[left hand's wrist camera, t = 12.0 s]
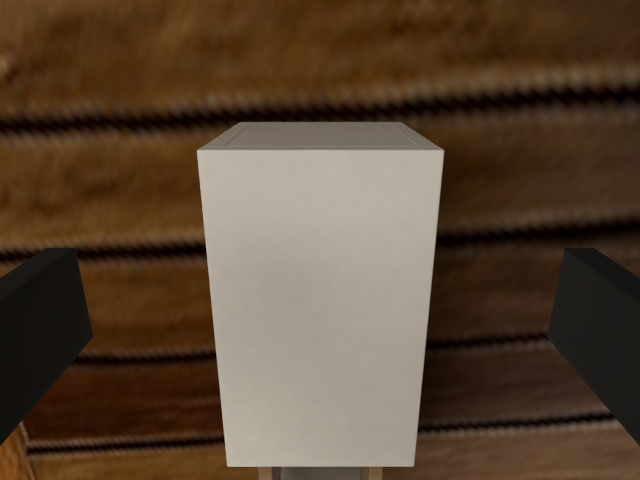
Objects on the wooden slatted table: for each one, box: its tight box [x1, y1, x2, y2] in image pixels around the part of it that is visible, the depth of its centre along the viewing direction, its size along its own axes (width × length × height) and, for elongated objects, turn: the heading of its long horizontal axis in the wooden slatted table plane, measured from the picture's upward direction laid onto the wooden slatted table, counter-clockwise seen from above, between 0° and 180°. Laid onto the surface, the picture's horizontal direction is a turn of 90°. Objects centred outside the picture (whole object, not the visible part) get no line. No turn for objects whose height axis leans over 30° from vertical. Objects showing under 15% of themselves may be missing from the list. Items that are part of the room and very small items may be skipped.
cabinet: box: [197, 122, 444, 467], centre depth 26 cm, size 17×10×10 cm, turn 0°
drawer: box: [258, 467, 383, 480], centre depth 30 cm, size 21×9×8 cm, turn 0°
